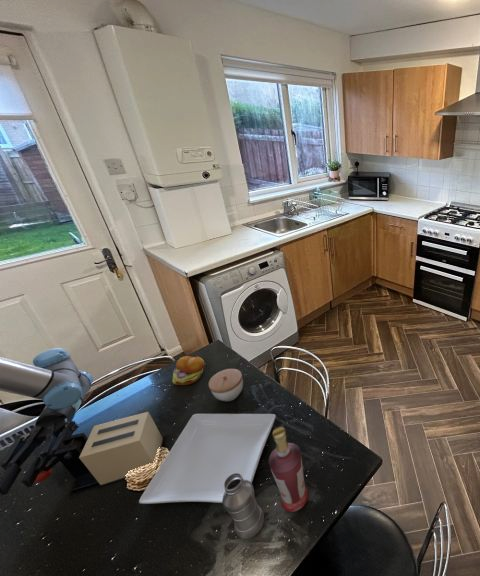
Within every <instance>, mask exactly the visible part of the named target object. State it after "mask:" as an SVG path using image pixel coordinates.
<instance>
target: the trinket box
mask: <svg viewBox="0 0 480 576" xmlns="http://www.w3.org/2000/svg"><path fill="white" fill-rule="evenodd" d="M242 374H243V373H242V372H241V370H239V369H236V368H226V369H223V370H220V371H218V372H216V374H214V375H212V376H211V378H210V379H209V381H208V388H209V390H210V392H211V394H212V396H213V397H214V398H215V399H217V400H218V401H221V402H231V401H234V400H235V399H237V398H238V397H239V395H241V393H242V391H243V388H244V380H243V379H244V378H243V375H242Z"/></svg>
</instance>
